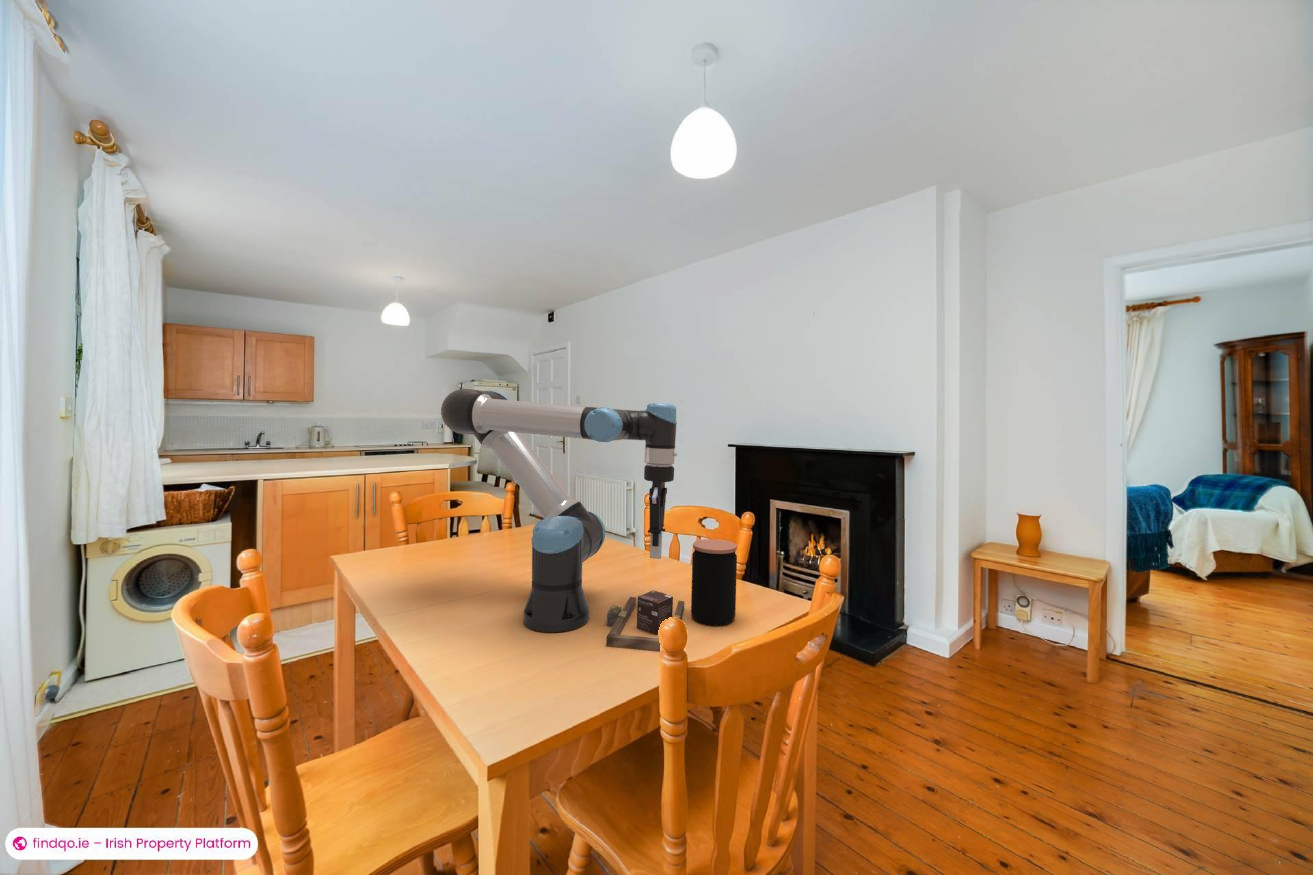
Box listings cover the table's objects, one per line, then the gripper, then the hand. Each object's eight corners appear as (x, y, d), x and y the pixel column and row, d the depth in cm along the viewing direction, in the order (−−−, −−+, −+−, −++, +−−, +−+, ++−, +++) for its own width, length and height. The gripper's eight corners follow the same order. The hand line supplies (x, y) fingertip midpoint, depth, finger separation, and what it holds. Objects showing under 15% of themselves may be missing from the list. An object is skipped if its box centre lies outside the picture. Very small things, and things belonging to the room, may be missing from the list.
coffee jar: (740, 614, 123) (742, 542, 122) (727, 630, 113) (730, 552, 113) (699, 606, 127) (701, 537, 127) (684, 621, 118) (686, 546, 117)
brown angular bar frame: (594, 644, 104) (595, 627, 104) (620, 603, 128) (620, 589, 128) (672, 652, 102) (673, 633, 102) (684, 608, 126) (684, 593, 125)
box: (635, 628, 114) (636, 596, 113) (652, 620, 118) (653, 589, 118) (656, 635, 110) (657, 602, 110) (673, 627, 114) (673, 595, 114)
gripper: (670, 468, 117) (666, 566, 118) (677, 463, 130) (673, 552, 131) (639, 466, 119) (635, 563, 120) (649, 462, 132) (645, 549, 132)
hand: (655, 557), depth 125 cm, fingers closed
